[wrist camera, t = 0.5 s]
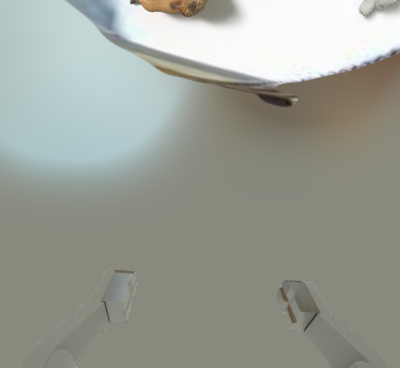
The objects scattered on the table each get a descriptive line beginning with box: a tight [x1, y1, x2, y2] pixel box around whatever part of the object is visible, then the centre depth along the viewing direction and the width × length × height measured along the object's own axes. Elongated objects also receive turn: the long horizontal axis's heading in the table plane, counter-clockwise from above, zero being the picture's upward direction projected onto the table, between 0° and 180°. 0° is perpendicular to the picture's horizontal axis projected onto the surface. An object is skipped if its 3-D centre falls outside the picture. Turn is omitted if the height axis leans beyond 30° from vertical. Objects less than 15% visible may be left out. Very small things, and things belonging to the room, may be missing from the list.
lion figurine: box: [130, 0, 207, 17], centre depth 34 cm, size 15×5×9 cm, turn 98°
